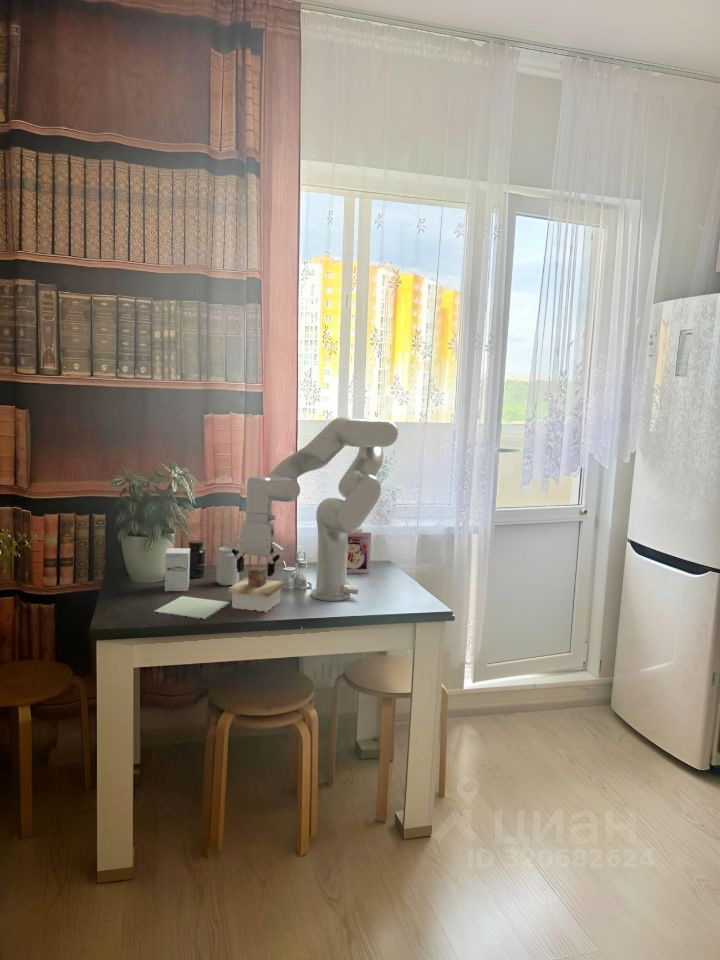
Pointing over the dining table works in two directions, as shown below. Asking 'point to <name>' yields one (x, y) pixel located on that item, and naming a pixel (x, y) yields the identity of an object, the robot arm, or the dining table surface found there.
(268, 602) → the dish
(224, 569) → the can
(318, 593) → the robot arm
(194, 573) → the supplement bottle
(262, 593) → the lid
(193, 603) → the mat
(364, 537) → the greeting card
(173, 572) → the supplement box
